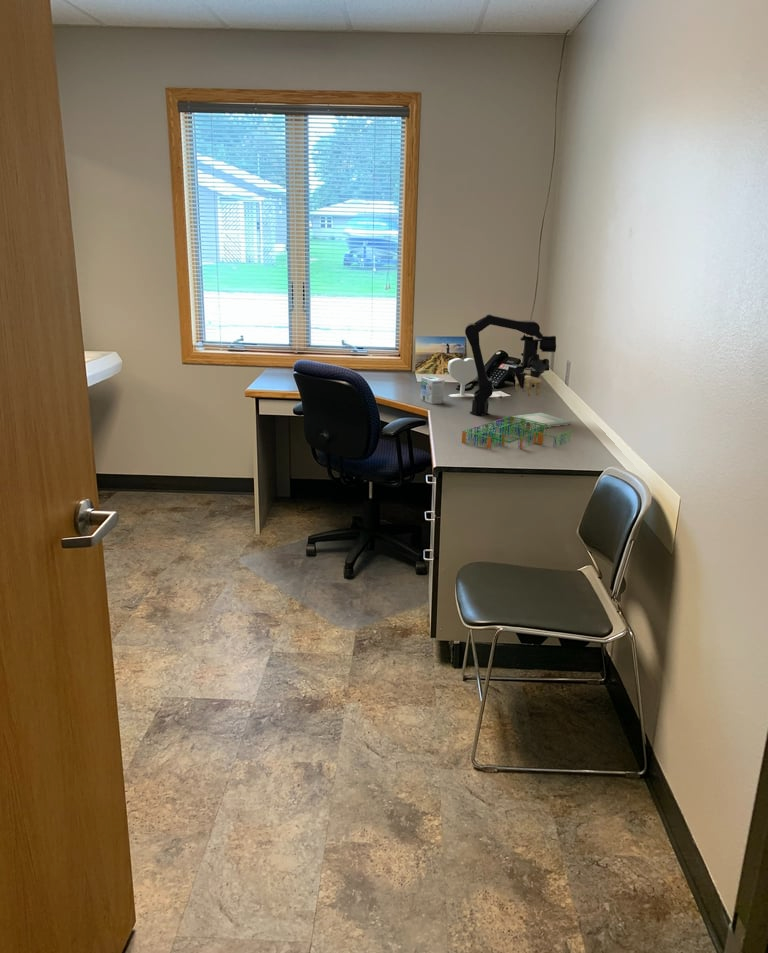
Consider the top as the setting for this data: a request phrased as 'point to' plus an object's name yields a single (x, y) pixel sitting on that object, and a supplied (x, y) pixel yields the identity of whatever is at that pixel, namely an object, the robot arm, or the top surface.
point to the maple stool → (529, 384)
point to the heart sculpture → (462, 373)
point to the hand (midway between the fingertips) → (527, 387)
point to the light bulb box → (432, 390)
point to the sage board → (542, 419)
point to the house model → (511, 424)
